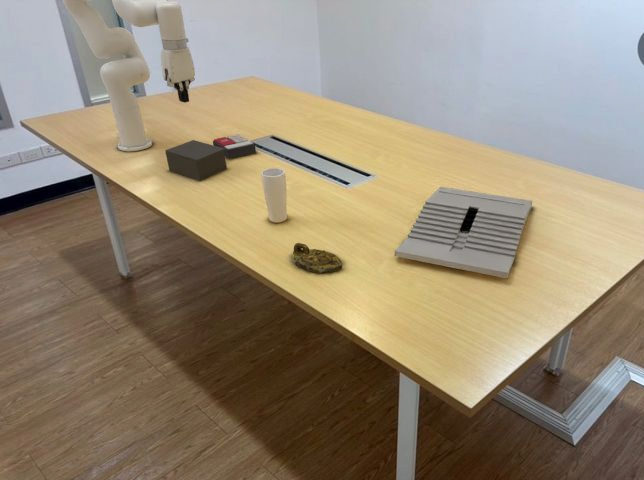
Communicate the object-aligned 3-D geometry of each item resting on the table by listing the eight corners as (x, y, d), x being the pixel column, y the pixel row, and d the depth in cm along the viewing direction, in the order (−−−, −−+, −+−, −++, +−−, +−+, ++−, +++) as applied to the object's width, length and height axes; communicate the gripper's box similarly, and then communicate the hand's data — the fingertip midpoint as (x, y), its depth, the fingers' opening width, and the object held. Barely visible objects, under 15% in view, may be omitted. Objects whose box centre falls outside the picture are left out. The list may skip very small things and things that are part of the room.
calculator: (238, 133, 218) (254, 141, 208) (240, 143, 220) (256, 153, 210) (211, 138, 213) (227, 147, 202) (213, 149, 215) (229, 159, 205)
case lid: (225, 150, 193) (225, 148, 193) (197, 162, 184) (197, 159, 184) (193, 141, 201) (193, 139, 200) (165, 152, 192) (164, 150, 191)
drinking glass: (267, 214, 168) (262, 167, 159) (290, 213, 168) (285, 167, 160) (265, 225, 162) (260, 177, 154) (289, 224, 163) (284, 176, 154)
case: (227, 168, 197) (224, 150, 194) (199, 180, 189) (196, 161, 185) (196, 159, 204) (193, 142, 201) (169, 171, 196) (165, 152, 192)
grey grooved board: (437, 193, 180) (438, 181, 178) (528, 206, 172) (530, 193, 170) (398, 262, 145) (399, 248, 142) (511, 281, 137) (513, 267, 135)
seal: (350, 264, 146) (301, 251, 151) (351, 248, 144) (301, 235, 149) (333, 278, 138) (282, 264, 144) (334, 261, 136) (282, 247, 141)
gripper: (185, 39, 185) (193, 94, 196) (147, 46, 175) (159, 104, 185) (200, 42, 182) (208, 98, 192) (163, 50, 172) (174, 109, 182)
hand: (184, 101), depth 189 cm, fingers closed
